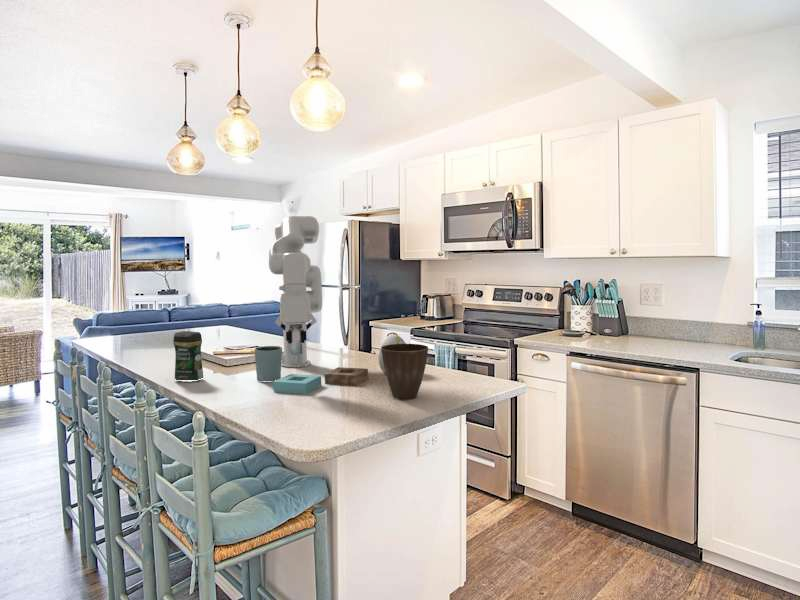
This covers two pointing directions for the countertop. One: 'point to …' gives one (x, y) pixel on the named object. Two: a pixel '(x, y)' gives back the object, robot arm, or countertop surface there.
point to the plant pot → (404, 368)
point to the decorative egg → (388, 341)
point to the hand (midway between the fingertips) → (296, 342)
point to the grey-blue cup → (268, 363)
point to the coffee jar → (188, 355)
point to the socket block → (297, 383)
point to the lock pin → (296, 339)
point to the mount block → (346, 376)
